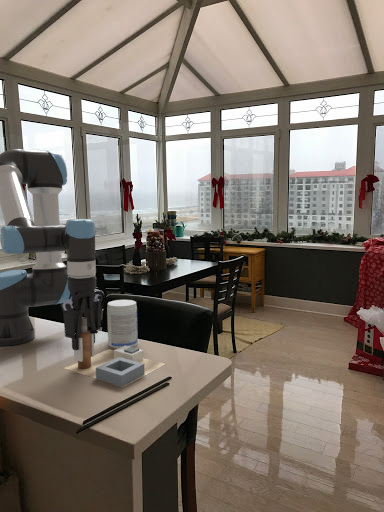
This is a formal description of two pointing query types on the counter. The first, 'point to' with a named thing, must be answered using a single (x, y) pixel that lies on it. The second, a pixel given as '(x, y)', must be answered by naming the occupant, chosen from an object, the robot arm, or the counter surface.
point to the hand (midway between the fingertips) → (84, 357)
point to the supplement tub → (122, 323)
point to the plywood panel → (106, 357)
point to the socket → (120, 371)
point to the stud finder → (129, 353)
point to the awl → (85, 345)
